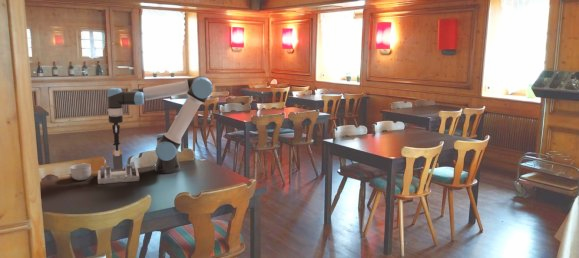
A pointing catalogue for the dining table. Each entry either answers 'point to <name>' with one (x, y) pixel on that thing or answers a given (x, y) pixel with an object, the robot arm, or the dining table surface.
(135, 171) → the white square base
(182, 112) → the robot arm
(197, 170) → the dining table surface
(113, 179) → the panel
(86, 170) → the teacup
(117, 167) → the lever
